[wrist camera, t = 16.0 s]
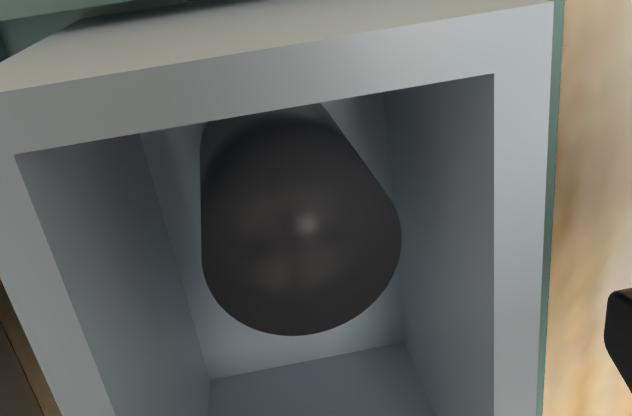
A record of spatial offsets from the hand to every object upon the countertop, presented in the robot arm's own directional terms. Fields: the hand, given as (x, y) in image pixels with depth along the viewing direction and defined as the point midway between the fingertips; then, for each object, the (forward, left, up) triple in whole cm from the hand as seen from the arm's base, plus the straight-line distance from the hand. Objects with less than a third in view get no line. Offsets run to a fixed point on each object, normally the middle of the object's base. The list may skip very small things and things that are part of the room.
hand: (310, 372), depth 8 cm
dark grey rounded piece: (+2, 0, -4) cm, 5 cm away
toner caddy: (-1, 0, -5) cm, 5 cm away
